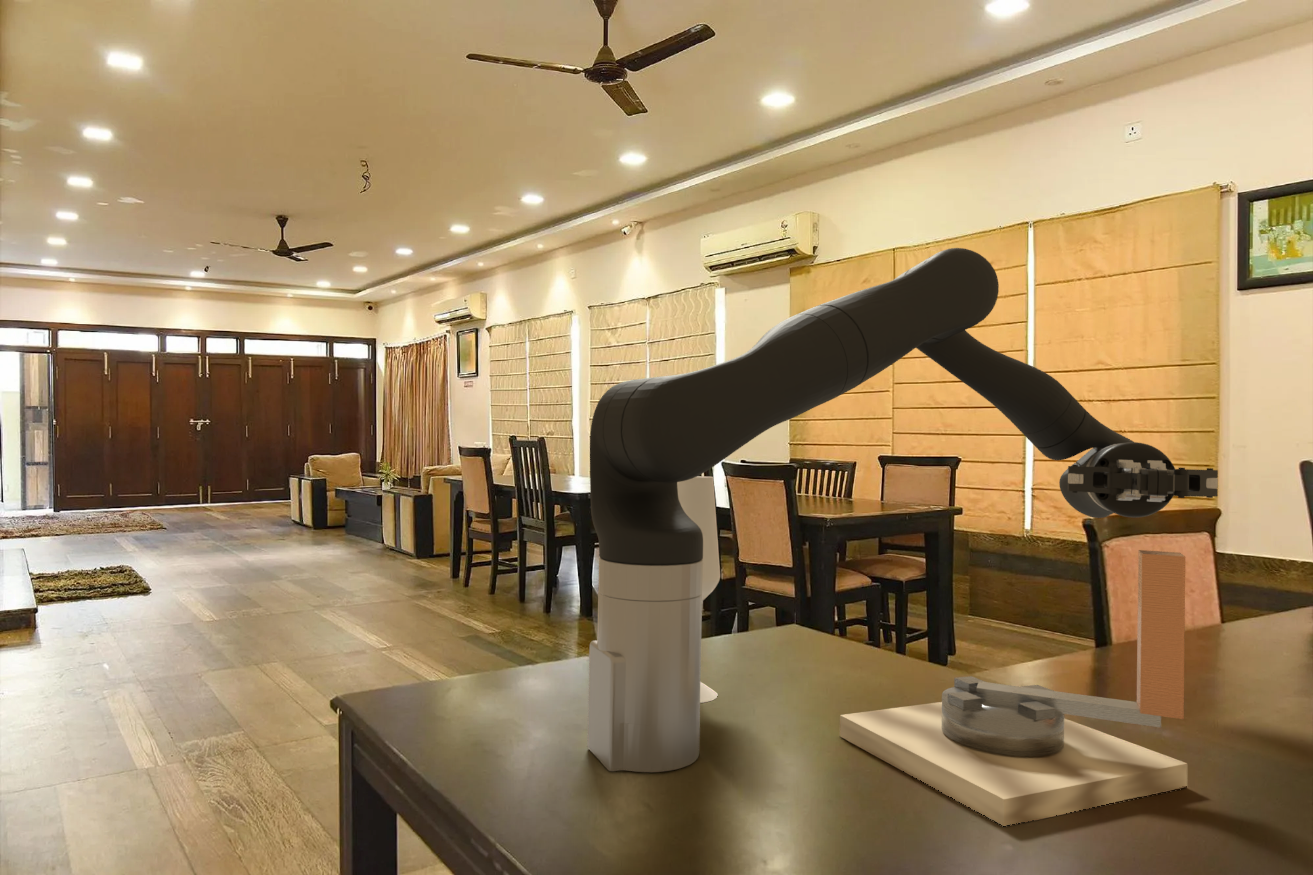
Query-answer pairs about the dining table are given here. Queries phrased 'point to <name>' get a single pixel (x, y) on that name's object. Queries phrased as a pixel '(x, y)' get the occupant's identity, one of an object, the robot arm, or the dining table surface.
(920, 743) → the maple base
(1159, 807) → the dining table surface
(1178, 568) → the grey disc with bar
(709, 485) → the champagne flute
